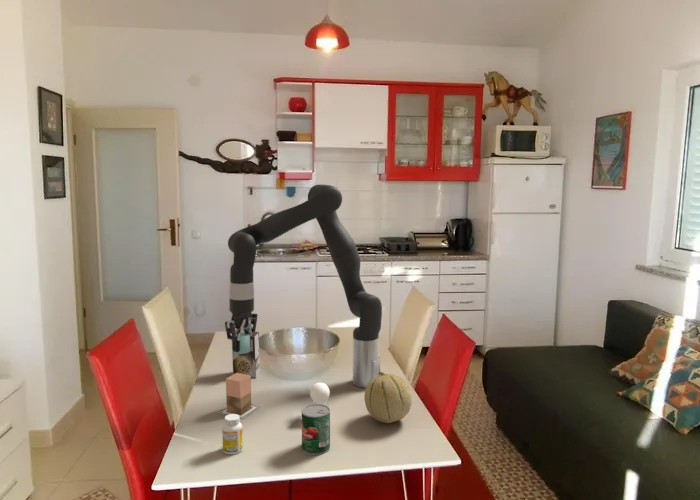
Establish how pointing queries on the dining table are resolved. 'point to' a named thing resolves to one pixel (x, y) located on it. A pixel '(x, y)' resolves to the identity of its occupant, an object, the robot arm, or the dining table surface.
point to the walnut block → (238, 404)
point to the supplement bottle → (232, 434)
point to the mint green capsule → (244, 344)
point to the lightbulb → (319, 393)
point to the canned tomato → (315, 429)
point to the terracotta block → (238, 385)
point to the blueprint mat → (244, 415)
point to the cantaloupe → (388, 398)
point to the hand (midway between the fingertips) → (241, 349)
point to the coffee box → (248, 359)
